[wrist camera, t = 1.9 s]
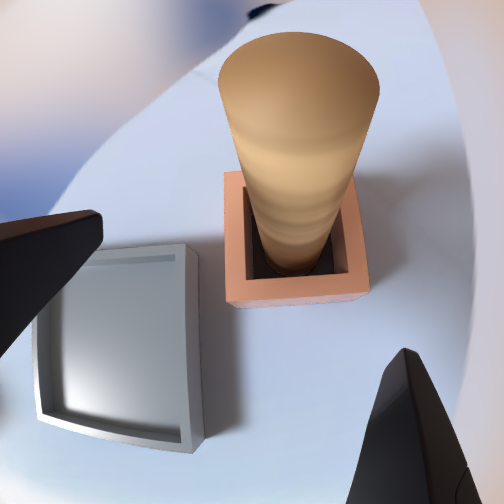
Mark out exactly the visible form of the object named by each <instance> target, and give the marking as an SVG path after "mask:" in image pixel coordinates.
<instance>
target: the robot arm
mask: <svg viewBox="0 0 504 504" xmlns="http://www.w3.org/2000/svg"><path fill="white" fill-rule="evenodd" d="M102 241H103V219H102V215H101V214H100V213H98V212H96V211H94V210H82V211H75V212H68V213H61V214H54V215H47V216H41V217H34V218H29V219H22V220H16V221H11V222H6V223H0V358H1V357H2V355H3V354H4V353H5V352H6V351H7V349H8V348H9V347H10V346H11V345H12V343H13V342H14V341H15V340H16V339H17V337H18V336H19V335H20V334H21V333H22V332H23V330H24V329H25V328H26V327H27V326H28V325H29V324H30V322H31V321H32V320H33V319H34V318H35V317H36V316H37V315H38V314H39V312H40V311H41V310H42V309H43V308H44V307H45V306H46V305H47V304H48V303H49V302H50V301H51V299H52V298H53V297H54V296H55V295H56V294H57V293H58V292H59V291H60V290H61V289H62V288H63V287H64V286H65V285H66V284H67V283H68V282H69V281H70V280H71V279H72V278H73V276H74V275H75V274H76V273H77V272H78V271H79V269H80V268H81V267H82V266H83V265H84V263H85V262H86V261H87V260H88V259H89V257H90V256H91V255H92V254H93V253H94V252H95V251H96V249H97V248H98V247H99V246H100V245H101V243H102ZM346 504H482V502H481V500H480V497H479V495H478V492H477V489H476V486H475V483H474V481H473V478H472V475H471V472H470V470H469V468H468V467H467V462H466V459H465V457H464V454H463V451H462V449H461V447H460V444H459V442H458V439H457V436H456V434H455V431H454V429H453V427H452V424H451V422H450V420H449V417H448V415H447V413H446V411H445V408H444V406H443V404H442V402H441V400H440V397H439V395H438V393H437V391H436V389H435V387H434V385H433V383H432V380H431V378H430V376H429V374H428V372H427V370H426V368H425V366H424V364H423V362H422V360H421V358H420V356H419V355H418V353H417V352H415V351H413V350H410V349H408V348H402V349H401V350H400V351H399V352H398V353H397V355H396V356H395V357H394V358H393V360H392V361H391V362H390V363H389V364H388V366H387V367H386V368H385V370H384V372H383V375H382V379H381V382H380V386H379V389H378V392H377V396H376V399H375V402H374V405H373V409H372V412H371V415H370V418H369V421H368V424H367V428H366V432H365V436H364V440H363V445H362V449H361V453H360V457H359V460H358V464H357V468H356V471H355V475H354V478H353V482H352V485H351V488H350V492H349V495H348V498H347V501H346Z"/></svg>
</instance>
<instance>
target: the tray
mask: <svg viewBox="0 0 504 504" xmlns="http://www.w3.org/2000/svg"><path fill="white" fill-rule="evenodd" d="M32 363H33V379H34V391H35V401H36V409H37V416H38V420H41V421H43V422H46V423H49V424H52V425H55V426H58V427H61V428H65V429H68V430H71V431H75V432H78V433H82V434H85V435H89V436H93V437H97V438H101V439H105V440H109V441H114V442H118V443H123V444H128V445H133V446H139V447H145V448H151V449H157V450H164V451H172V452H180V453H189V454H193V453H194V452H195V451H196V449H197V448H198V447H199V446H200V445H201V443H202V442H203V441H204V440H205V435H204V421H203V406H202V388H201V367H200V340H199V292H198V254H197V253H195V252H194V251H193V250H192V249H191V248H190V247H189V246H188V245H187V244H186V243H182V244H170V245H157V246H145V247H133V248H122V249H110V250H99V251H95V252H94V253H93V254H92V255H91V256H90V257H89V259H88V260H87V261H86V262H85V263H84V265H83V266H82V267H81V268H80V269H79V271H78V272H77V273H76V274H75V275H74V276H73V278H72V279H71V280H70V281H69V282H68V283H67V284H66V285H65V286H64V287H63V288H62V289H61V290H60V291H59V292H58V293H57V294H56V295H55V296H54V297H53V298H52V299H51V301H50V302H49V303H48V304H47V305H46V306H45V307H44V308H43V309H42V310H41V311H40V312H39V314H38V315H37V316H36V317H35V318H34V319H33V320H32Z"/></svg>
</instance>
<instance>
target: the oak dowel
mask: <svg viewBox="0 0 504 504" xmlns="http://www.w3.org/2000/svg"><path fill="white" fill-rule="evenodd" d="M218 88H219V91H220V95H221V98H222V102H223V105H224V109H225V112H226V116H227V119H228V123H229V126H230V130H231V133H232V137H233V140H234V144H235V148H236V151H237V155H238V158H239V162H240V165H241V169H242V173H243V176H244V180H245V183H246V187H247V191H248V194H249V198H250V201H251V205H252V209H253V212H254V216H255V220H256V223H257V227H258V231H259V234H260V238H261V242H262V245H263V249H264V253H265V256H266V259H267V262H268V263H269V265H270V266H271V267H272V268H273V269H274V270H275V271H276V272H278V273H280V274H282V275H285V276H290V277H295V276H301V275H303V274H306V273H307V272H309V271H310V270H312V269H313V268H314V266H315V265H316V264H317V262H318V260H319V257H320V255H321V253H322V250H323V248H324V245H325V243H326V241H327V238H328V236H329V233H330V231H331V228H332V226H333V223H334V221H335V218H336V216H337V213H338V211H339V208H340V206H341V203H342V200H343V198H344V195H345V193H346V190H347V187H348V185H349V182H350V179H351V177H352V174H353V171H354V169H355V166H356V163H357V160H358V158H359V155H360V152H361V149H362V146H363V143H364V141H365V138H366V135H367V132H368V129H369V126H370V123H371V120H372V117H373V114H374V111H375V108H376V105H377V102H378V98H379V92H380V86H379V80H378V78H377V75H376V73H375V71H374V69H373V67H372V66H371V65H370V63H369V62H368V61H367V60H366V59H365V58H364V57H363V56H362V55H361V54H360V53H358V52H357V51H356V50H354V49H353V48H351V47H350V46H348V45H346V44H344V43H342V42H340V41H338V40H335V39H332V38H329V37H326V36H322V35H318V34H313V33H304V32H284V33H276V34H271V35H267V36H263V37H260V38H257V39H254V40H252V41H250V42H248V43H246V44H244V45H242V46H241V47H239V48H238V49H237V50H235V51H234V52H233V53H232V54H231V55H230V56H229V57H228V58H227V59H226V61H225V62H224V64H223V66H222V67H221V70H220V73H219V78H218Z"/></svg>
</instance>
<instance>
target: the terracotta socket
mask: <svg viewBox="0 0 504 504" xmlns="http://www.w3.org/2000/svg"><path fill="white" fill-rule="evenodd" d="M251 214H254V212H253V209H252V205H251V201H250V198H249V194H248V191H247V187H246V183H245V180H244V176H243V173H242V171H232V172H224V233H225V286H226V302H227V303H229V304H231V305H233V306H235V307H237V308H257V307H275V306H291V305H306V304H319V303H331V302H343V301H353V300H355V299H357V298H359V297H361V296H363V295H365V294H367V293H369V292H370V284H369V274H368V266H367V258H366V250H365V243H364V236H363V229H362V223H361V217H360V211H359V205H358V199H357V194H356V188H355V183H354V178H353V174H352V177H351V179H350V182H349V185H348V187H347V190H346V193H345V195H344V198H343V200H342V203H341V206H340V208H339V211H338V213H337V216H336V218H335V221H334V223H333V226H332V228H331V231H330V233H331V241H332V250H333V259H334V269H335V274H330V275H317V276H303V277H288V278H273V279H256V280H254V274H253V250H252V226H251Z"/></svg>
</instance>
